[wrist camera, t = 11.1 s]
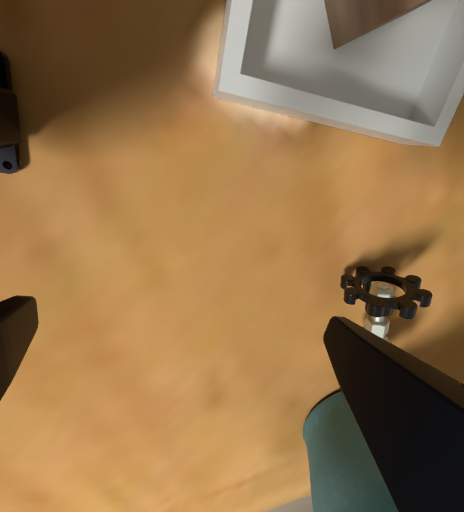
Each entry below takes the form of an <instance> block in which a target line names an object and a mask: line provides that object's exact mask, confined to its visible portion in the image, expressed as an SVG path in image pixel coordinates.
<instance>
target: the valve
mask: <svg viewBox="0 0 464 512" xmlns="http://www.w3.org/2000/svg"><path fill="white" fill-rule="evenodd" d="M395 272H396V270H395V269H394V268H392V267H383V268H382V269H381V272H370V270H369V268H367V267H363V266H361V267H357V268H356V275H355V277H354V276H352V275H348V274H345V275H342V276H341V284H340V286H341V288H343V289H345V290H344V301H345V302H346V303H347V304H351V305H354V304H355V301H356V299H360V300H362V301H364V302H366V305H365V311H366V312H367V313H368V314H369V315H368V316H367V317H366V319H365V327H364V328H365V329H366V330H368V331H370V332H372V333H374V334H375V335H377V336H379V337H381V338H382V339H384V340H386V341H388V342H389V343H391V344H392V342H391V341H390V339H389V338H388V337H386V336H385V335H386V334H387V333H388V330H389V324H390V321H389V319H388V318H387V317H386V316H389V315H391V314H392V312H393V309H399V310H400V313H399V316H401V317H402V318H405V319H413V318H414V317H415V315H416V310H417V304H416V303H415V302H413V300H416V301H419V302H421V304H420V307H428V306H430V303H431V299H432V293H431V292H430V291H428V290H425V289H420V285H421V278H420V277H418V276H414V275H408V276H406V277H405V278H402V277H399V276H396V275H395ZM372 281H383V282H375V283H373V284H372V285H371V282H372ZM386 282H388V283H386ZM389 283H391V284H394V285H396V286H398V287H400V288H401V289H402V290H403V291H404V292H405V294H404V295H403V296H400V297H396V298H395V296H394V293H395V288H394V287H393V286H392V285H390V284H389ZM362 284H363V288H362V287H361V285H362ZM347 286H352V287H353V288H352V287H349V288H347Z"/></svg>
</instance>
